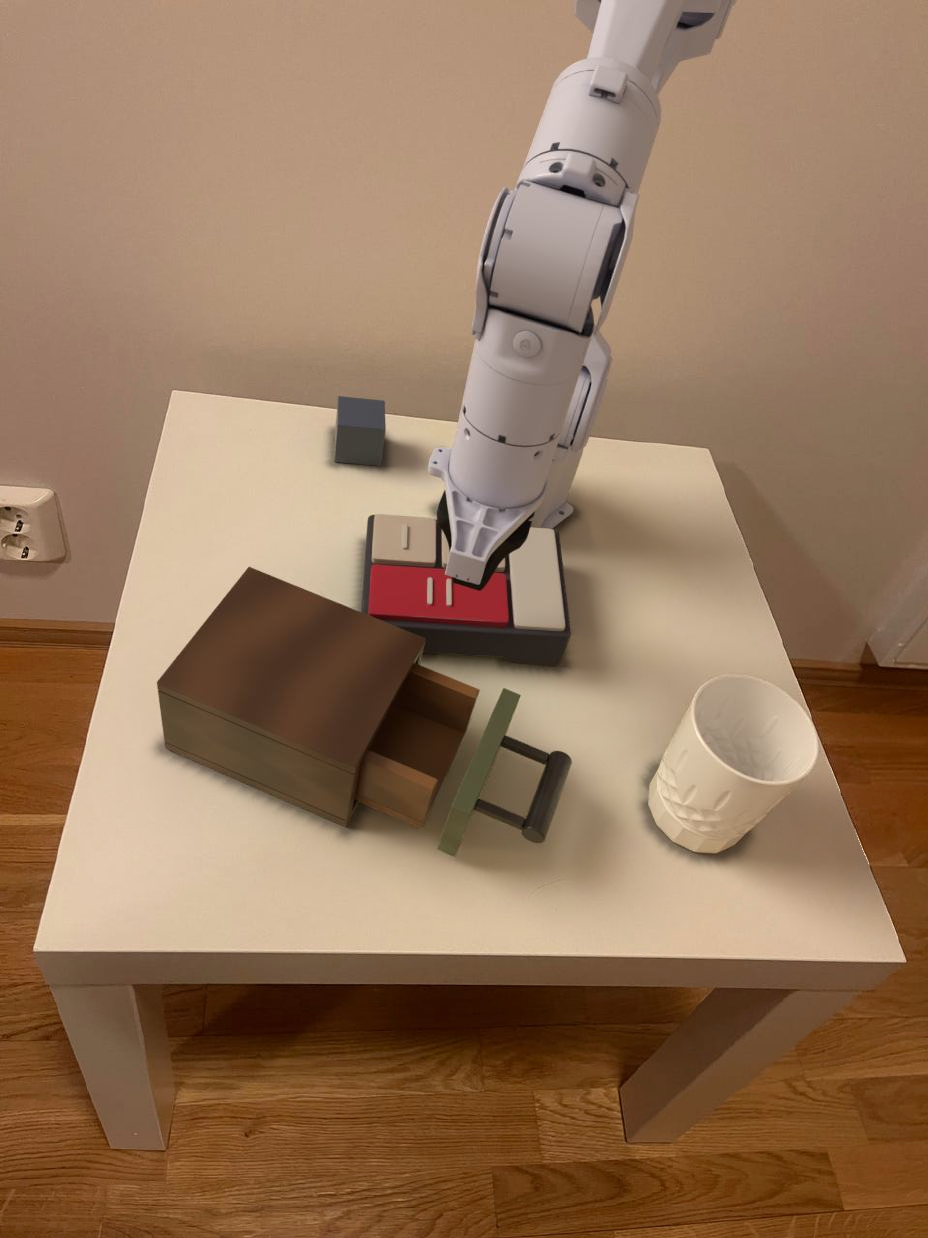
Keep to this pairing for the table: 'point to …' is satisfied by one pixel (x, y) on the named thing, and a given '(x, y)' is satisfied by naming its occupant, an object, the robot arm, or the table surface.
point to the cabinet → (286, 692)
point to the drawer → (450, 759)
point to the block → (359, 431)
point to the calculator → (467, 593)
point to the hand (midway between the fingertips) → (469, 579)
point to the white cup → (731, 762)
